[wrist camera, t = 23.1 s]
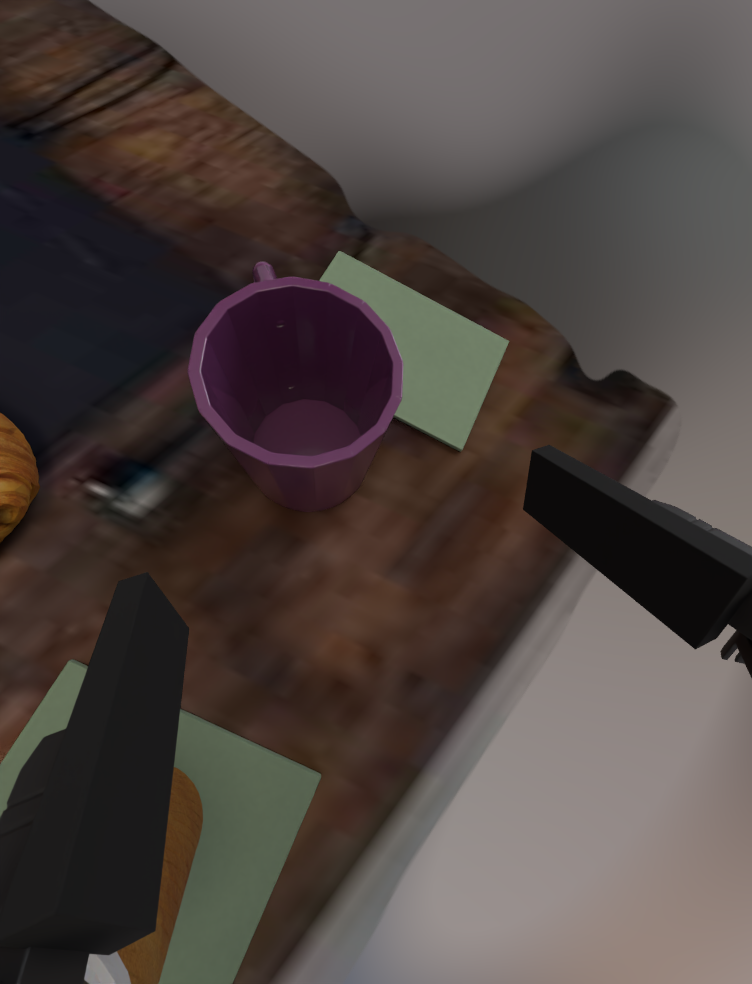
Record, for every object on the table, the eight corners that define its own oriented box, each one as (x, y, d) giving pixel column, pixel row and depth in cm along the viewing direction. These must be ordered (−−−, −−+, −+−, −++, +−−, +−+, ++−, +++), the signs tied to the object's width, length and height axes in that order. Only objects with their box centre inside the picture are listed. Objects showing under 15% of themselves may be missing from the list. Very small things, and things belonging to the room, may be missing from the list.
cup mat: (-72, 878, 17) (-81, 885, 17) (73, 658, 20) (68, 660, 20) (222, 1003, 18) (220, 1012, 17) (321, 773, 21) (321, 777, 20)
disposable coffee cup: (-6, 858, 17) (-653, 1429, 6) (146, 691, 20) (-95, 861, 8) (134, 987, 17) (-251, 1851, 6) (271, 802, 20) (199, 1136, 8)
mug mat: (272, 355, 26) (271, 352, 26) (338, 254, 29) (339, 250, 28) (460, 452, 27) (462, 450, 26) (506, 344, 30) (509, 341, 29)
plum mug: (385, 490, 25) (432, 433, 14) (266, 528, 23) (221, 495, 13) (335, 352, 27) (344, 211, 16) (221, 377, 25) (148, 236, 14)
